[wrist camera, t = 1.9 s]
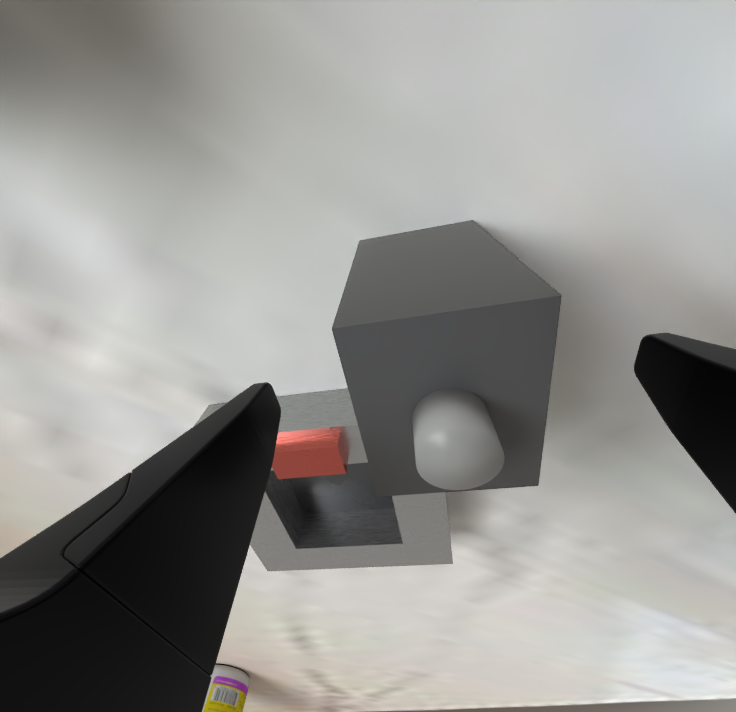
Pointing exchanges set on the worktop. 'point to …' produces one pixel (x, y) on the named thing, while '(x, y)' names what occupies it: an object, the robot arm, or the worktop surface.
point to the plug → (447, 360)
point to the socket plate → (338, 498)
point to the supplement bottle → (226, 690)
